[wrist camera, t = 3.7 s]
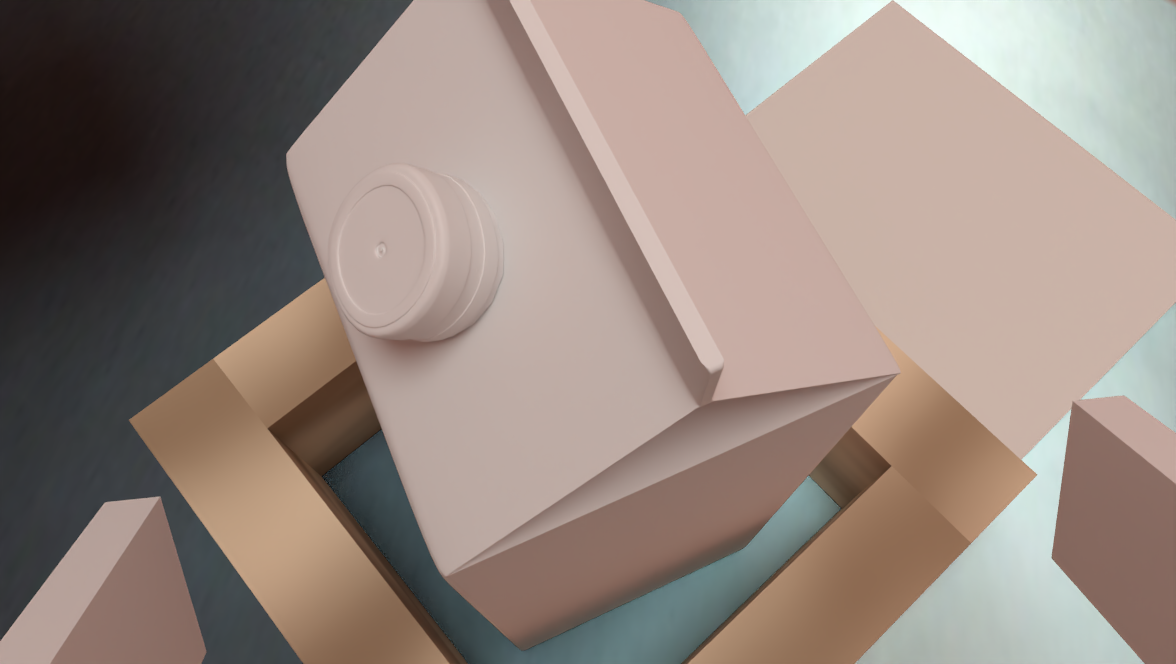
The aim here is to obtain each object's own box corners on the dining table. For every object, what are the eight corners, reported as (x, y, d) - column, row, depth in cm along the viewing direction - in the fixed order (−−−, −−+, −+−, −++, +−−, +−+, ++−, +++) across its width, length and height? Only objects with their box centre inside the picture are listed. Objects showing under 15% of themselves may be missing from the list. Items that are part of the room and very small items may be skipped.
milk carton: (641, 342, 30) (710, -207, 12) (746, 548, 27) (1026, 236, 10) (432, 430, 28) (172, -32, 11) (520, 654, 26) (367, 520, 8)
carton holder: (205, 469, 28) (128, 420, 23) (601, 168, 32) (602, 75, 27) (549, 936, 23) (537, 990, 19) (962, 515, 27) (1037, 474, 23)
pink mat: (672, 180, 32) (674, 170, 31) (887, 11, 35) (892, 0, 34) (995, 482, 28) (1003, 477, 27) (1209, 264, 30) (1221, 255, 30)
